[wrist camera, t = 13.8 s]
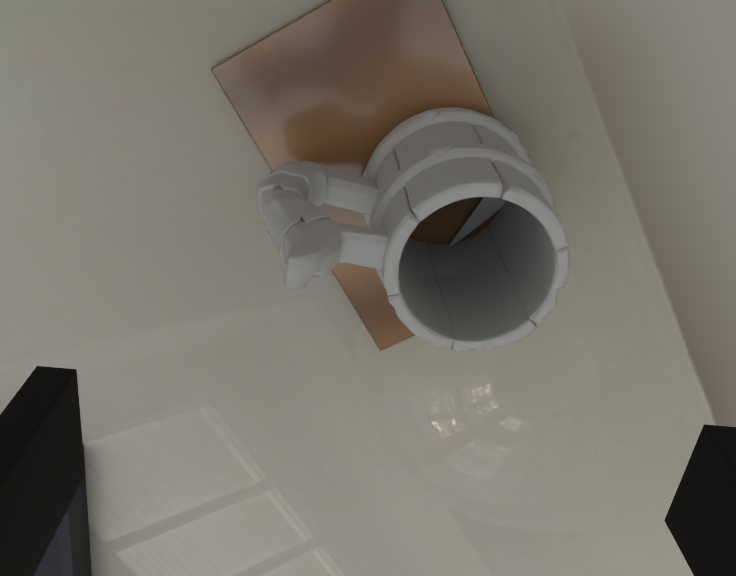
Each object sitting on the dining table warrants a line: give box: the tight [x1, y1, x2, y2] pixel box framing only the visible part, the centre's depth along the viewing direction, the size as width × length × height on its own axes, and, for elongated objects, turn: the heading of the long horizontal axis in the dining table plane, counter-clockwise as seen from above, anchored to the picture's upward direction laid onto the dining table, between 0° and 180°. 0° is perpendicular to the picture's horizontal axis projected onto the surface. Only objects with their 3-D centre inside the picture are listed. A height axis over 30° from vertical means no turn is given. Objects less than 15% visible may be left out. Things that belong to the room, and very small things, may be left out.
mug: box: [257, 107, 570, 351], centre depth 27 cm, size 8×12×12 cm, turn 81°
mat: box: [211, 0, 501, 351], centre depth 32 cm, size 16×10×1 cm, turn 28°
